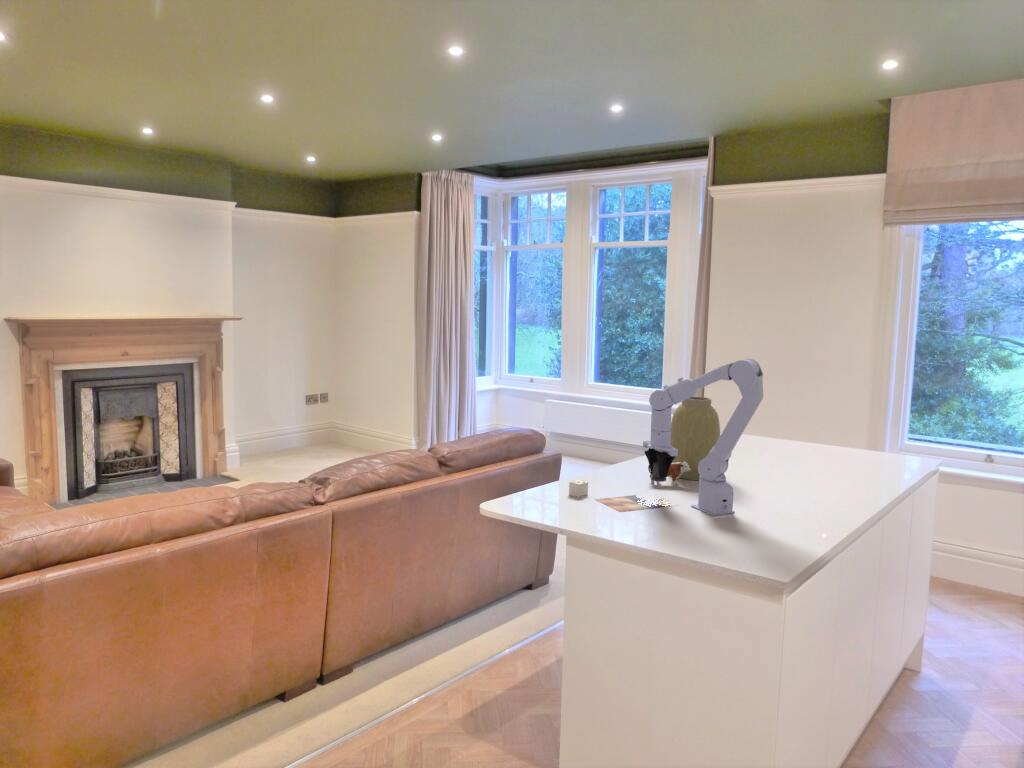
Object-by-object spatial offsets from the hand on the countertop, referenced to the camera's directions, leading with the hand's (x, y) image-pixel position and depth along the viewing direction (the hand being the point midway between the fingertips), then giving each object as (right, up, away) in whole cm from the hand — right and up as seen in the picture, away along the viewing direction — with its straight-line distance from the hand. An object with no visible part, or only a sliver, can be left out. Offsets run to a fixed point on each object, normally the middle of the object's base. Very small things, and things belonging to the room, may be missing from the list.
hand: (658, 475), depth 208 cm
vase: (+19, -5, +34) cm, 39 cm away
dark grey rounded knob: (0, -1, 0) cm, 1 cm away
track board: (-7, -8, -2) cm, 11 cm away
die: (-23, -7, +6) cm, 25 cm away
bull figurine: (+7, -6, +21) cm, 23 cm away
